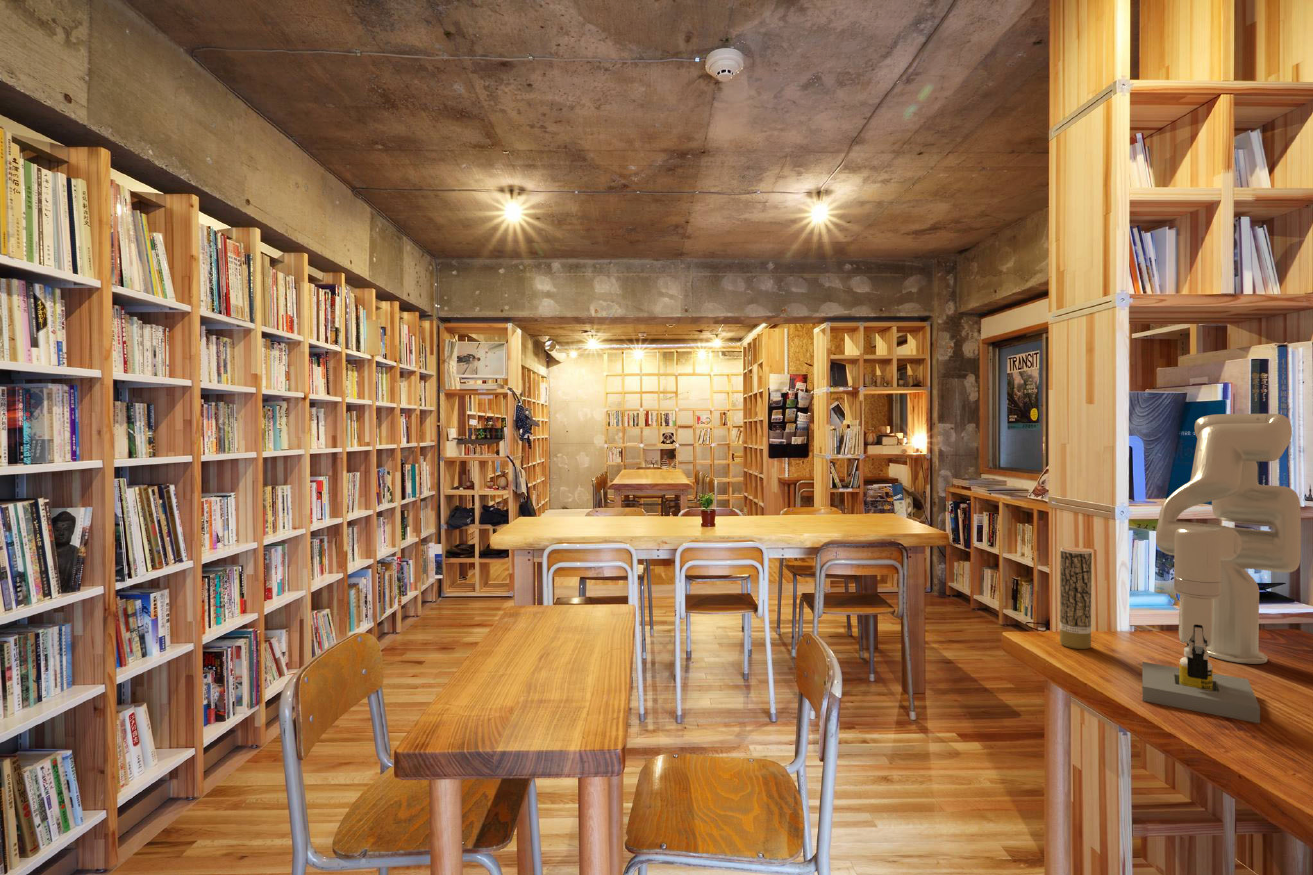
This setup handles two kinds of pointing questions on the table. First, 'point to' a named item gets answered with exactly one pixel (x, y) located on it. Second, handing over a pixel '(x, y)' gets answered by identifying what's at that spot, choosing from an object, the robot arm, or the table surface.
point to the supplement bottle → (1191, 681)
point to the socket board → (1200, 693)
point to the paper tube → (1075, 597)
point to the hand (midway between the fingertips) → (1196, 671)
